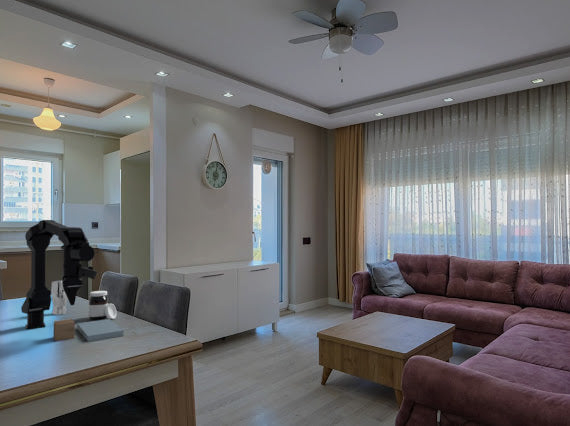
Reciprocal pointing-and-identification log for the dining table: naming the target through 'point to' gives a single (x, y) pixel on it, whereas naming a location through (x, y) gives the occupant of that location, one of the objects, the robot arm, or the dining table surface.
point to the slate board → (99, 330)
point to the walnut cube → (64, 329)
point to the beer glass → (58, 298)
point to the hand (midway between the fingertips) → (72, 303)
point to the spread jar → (101, 306)
